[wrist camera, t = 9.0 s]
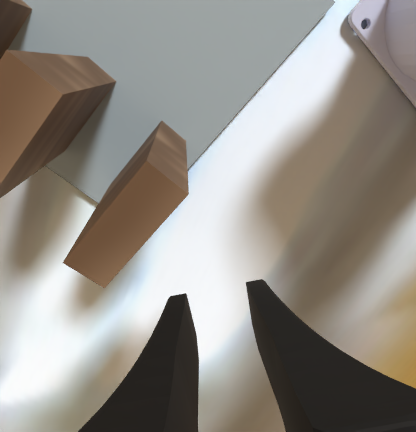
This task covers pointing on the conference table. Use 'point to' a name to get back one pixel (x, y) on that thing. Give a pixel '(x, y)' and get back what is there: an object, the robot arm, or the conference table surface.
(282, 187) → the conference table surface
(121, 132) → the slate mat
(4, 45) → the domino
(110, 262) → the domino
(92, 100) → the domino
